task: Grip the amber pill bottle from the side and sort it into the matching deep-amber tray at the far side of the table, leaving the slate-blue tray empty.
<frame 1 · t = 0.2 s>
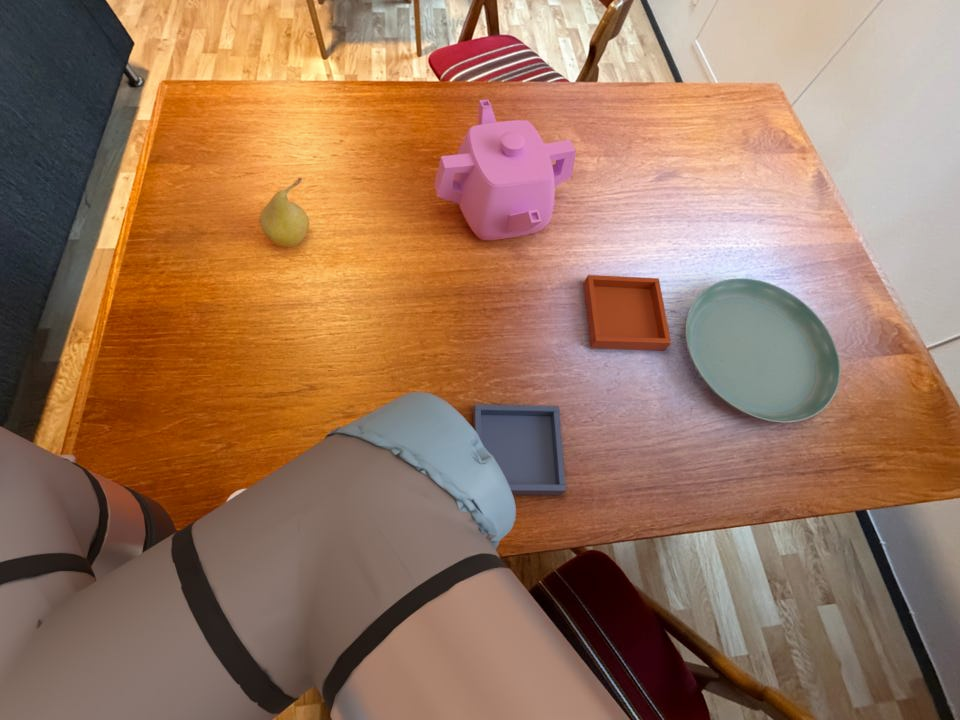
hand: (216, 582, 48), 17 cm above the table, tool pointing down, fingers open, 13 cm apart
pill bottle: (262, 520, 67), on the table
fruit: (291, 238, 86), on the table
saucer: (751, 355, 86), on the table
blue tray: (516, 451, 74), on the table
amber tray: (622, 316, 86), on the table
teapot: (498, 210, 93), on the table
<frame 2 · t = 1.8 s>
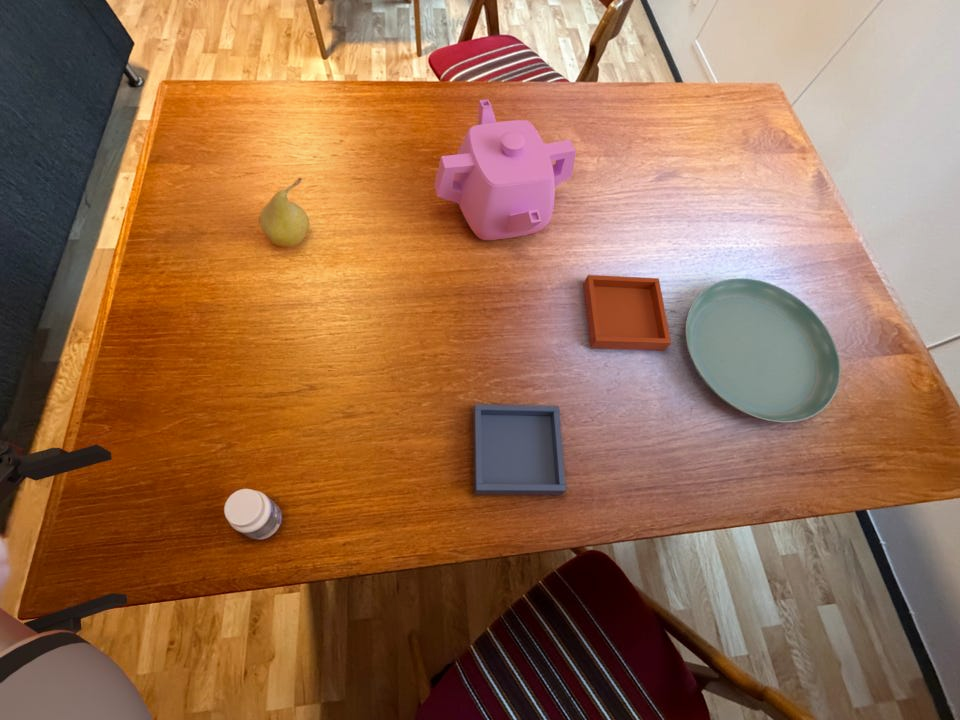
hand: (112, 521, 50), 17 cm above the table, tool horizontal, fingers open, 13 cm apart
nothing on the table moved.
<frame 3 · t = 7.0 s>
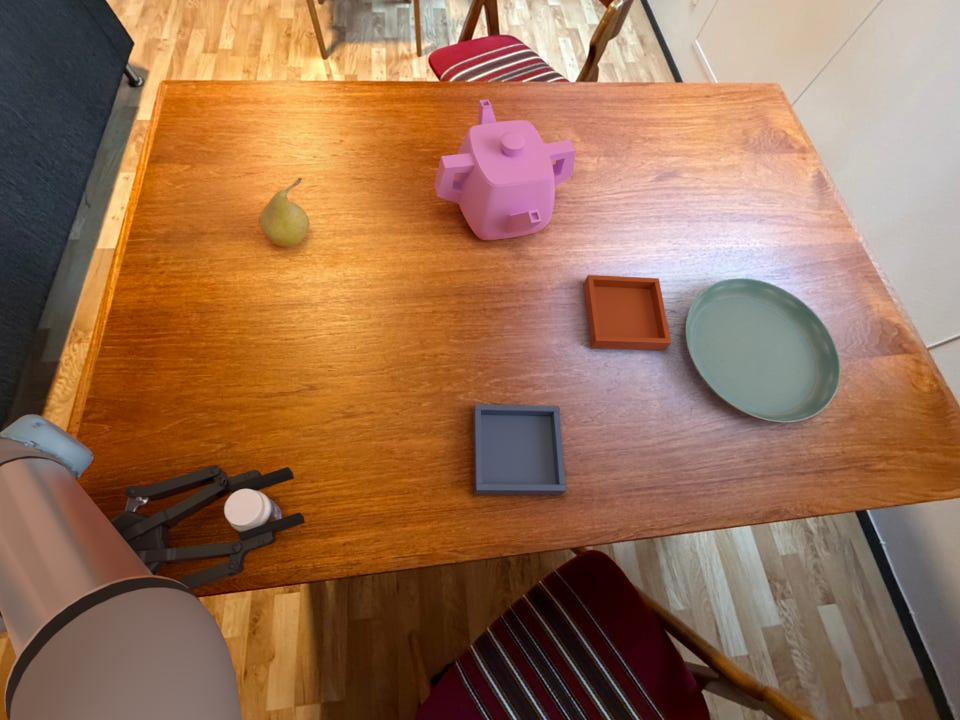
hand: (296, 494, 63), 6 cm above the table, tool horizontal, fingers closed on pill bottle, 5 cm apart
pill bottle: (262, 520, 67), on the table, touching gripper
everything else where it was.
when the fingers open (7 cm above the table, at t = 20.0 s): pill bottle stays where it is, resting on amber tray.
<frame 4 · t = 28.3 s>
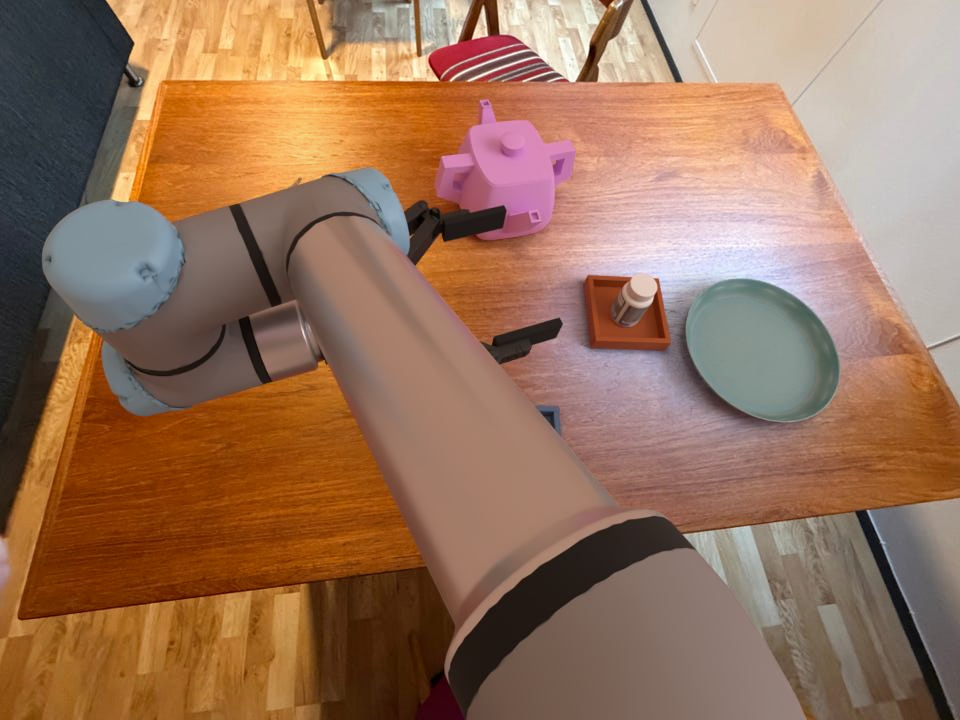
hand: (529, 269, 54), 28 cm above the table, tool horizontal, fingers open, 13 cm apart
pill bottle: (623, 315, 86), resting on amber tray
everything else where it was.
at the end: pill bottle inside the target area in the amber tray (0.0 cm from its centre), point 0.4 cm above the amber tray's base; pill bottle tilted 0°; the gripper is holding nothing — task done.
